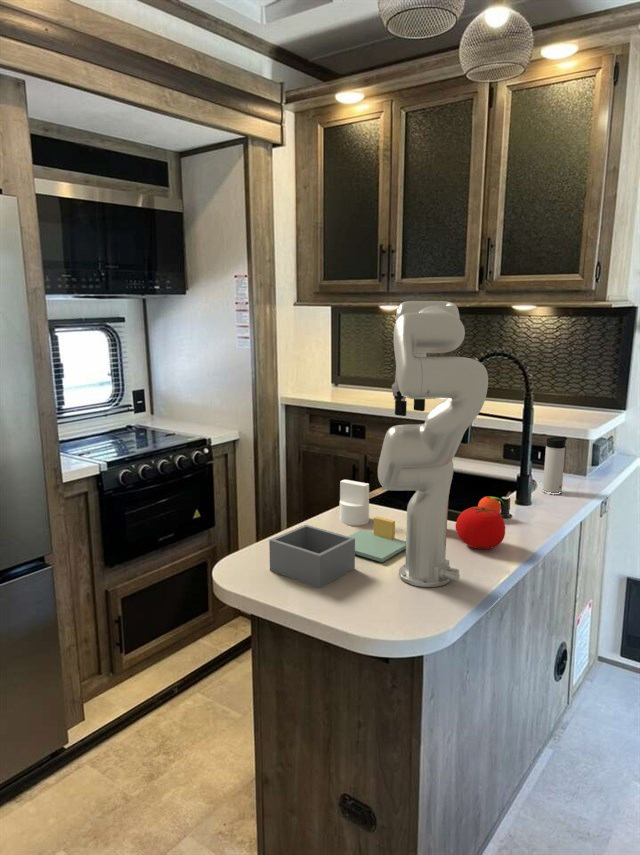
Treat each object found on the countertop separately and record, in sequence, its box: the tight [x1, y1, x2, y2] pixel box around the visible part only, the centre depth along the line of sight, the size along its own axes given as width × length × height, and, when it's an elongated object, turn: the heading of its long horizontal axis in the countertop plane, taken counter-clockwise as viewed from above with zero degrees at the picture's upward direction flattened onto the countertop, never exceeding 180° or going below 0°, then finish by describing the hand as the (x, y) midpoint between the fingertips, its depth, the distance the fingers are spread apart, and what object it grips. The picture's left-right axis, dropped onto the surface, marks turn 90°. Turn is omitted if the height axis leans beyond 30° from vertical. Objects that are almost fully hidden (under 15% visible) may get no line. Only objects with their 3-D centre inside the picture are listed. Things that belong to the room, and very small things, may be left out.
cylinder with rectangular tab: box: [339, 479, 370, 526], centre depth 189 cm, size 9×9×12 cm
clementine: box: [477, 495, 505, 514], centre depth 192 cm, size 8×7×7 cm
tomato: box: [455, 506, 506, 550], centre depth 169 cm, size 12×13×11 cm
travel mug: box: [542, 436, 568, 493], centre depth 216 cm, size 6×7×20 cm
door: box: [347, 516, 406, 563], centre depth 168 cm, size 16×14×7 cm
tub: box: [268, 524, 356, 589], centre depth 154 cm, size 16×14×8 cm
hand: (410, 413), depth 168 cm, fingers open, 9 cm apart
